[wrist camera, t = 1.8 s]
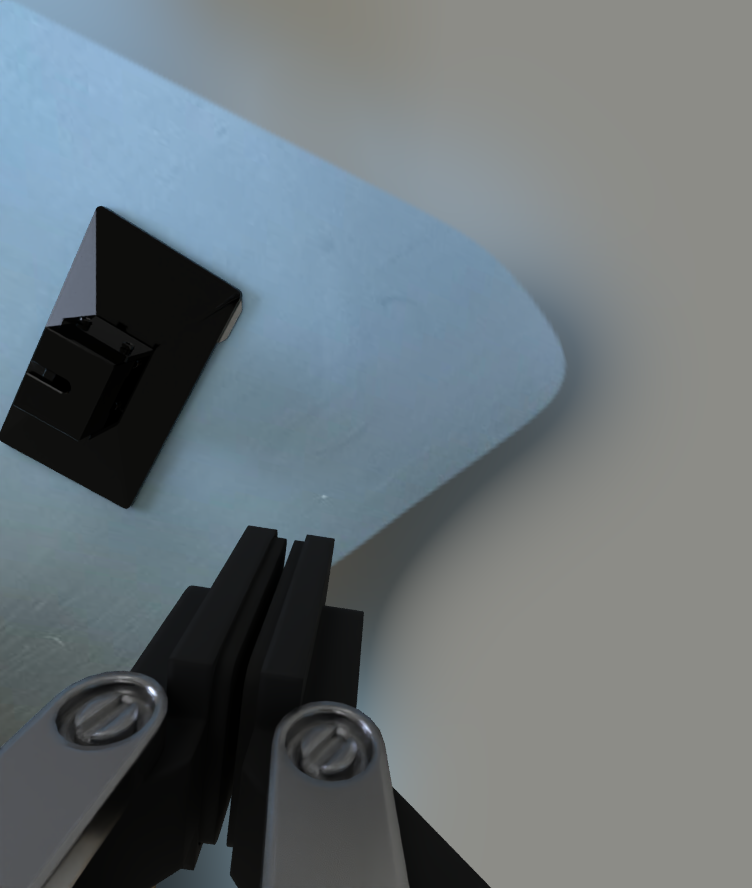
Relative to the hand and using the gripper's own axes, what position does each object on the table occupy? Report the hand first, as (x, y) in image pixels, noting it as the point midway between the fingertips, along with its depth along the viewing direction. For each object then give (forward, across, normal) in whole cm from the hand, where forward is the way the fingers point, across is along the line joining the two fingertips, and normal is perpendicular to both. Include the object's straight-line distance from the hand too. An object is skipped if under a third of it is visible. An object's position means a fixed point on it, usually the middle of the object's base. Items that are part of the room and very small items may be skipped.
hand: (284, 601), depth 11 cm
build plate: (+16, +11, 0) cm, 20 cm away
